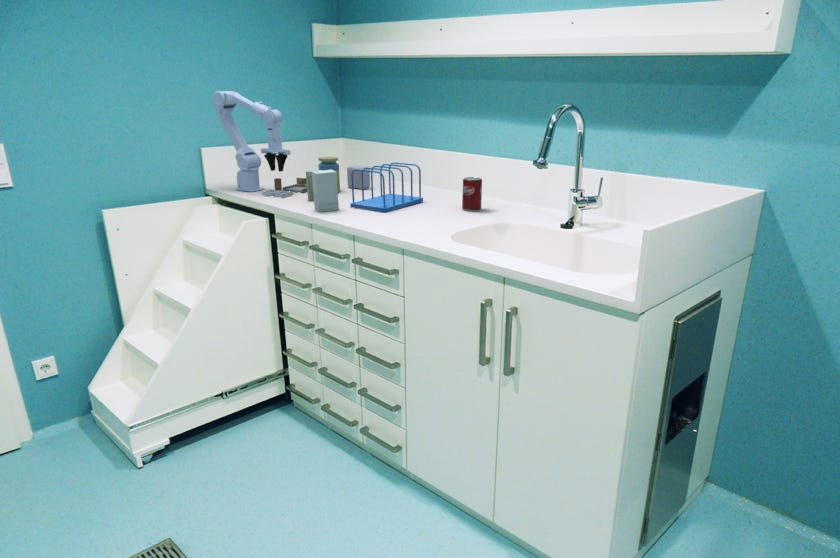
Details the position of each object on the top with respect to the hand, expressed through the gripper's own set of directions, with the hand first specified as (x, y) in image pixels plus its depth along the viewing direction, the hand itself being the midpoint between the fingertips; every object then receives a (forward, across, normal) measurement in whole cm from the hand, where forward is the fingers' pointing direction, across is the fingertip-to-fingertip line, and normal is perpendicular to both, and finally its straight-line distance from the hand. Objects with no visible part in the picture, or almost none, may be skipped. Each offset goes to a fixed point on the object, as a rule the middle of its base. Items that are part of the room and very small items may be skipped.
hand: (277, 170), depth 255 cm
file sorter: (+10, +56, -1) cm, 57 cm away
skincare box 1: (+10, +26, -7) cm, 28 cm away
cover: (+8, +5, +16) cm, 19 cm away
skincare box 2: (+10, +40, -21) cm, 47 cm away
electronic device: (+10, +26, +25) cm, 37 cm away
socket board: (+9, +4, -6) cm, 12 cm away
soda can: (+10, +90, +5) cm, 90 cm away
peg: (+9, 0, 0) cm, 9 cm away
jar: (+10, +20, +11) cm, 24 cm away
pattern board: (+9, +5, +13) cm, 17 cm away
